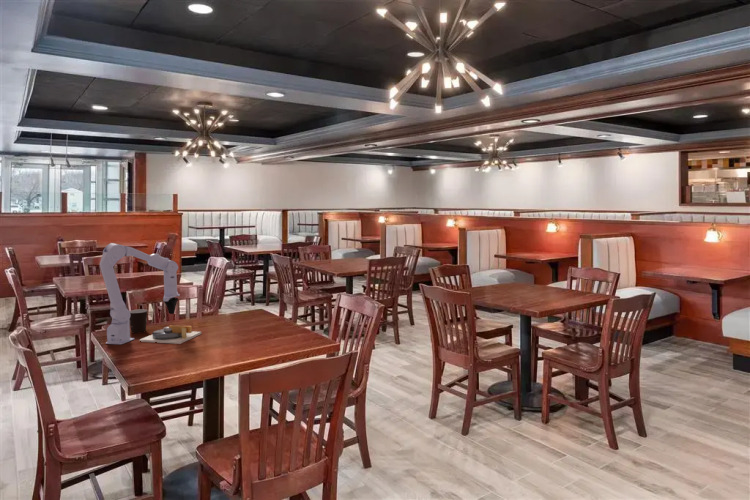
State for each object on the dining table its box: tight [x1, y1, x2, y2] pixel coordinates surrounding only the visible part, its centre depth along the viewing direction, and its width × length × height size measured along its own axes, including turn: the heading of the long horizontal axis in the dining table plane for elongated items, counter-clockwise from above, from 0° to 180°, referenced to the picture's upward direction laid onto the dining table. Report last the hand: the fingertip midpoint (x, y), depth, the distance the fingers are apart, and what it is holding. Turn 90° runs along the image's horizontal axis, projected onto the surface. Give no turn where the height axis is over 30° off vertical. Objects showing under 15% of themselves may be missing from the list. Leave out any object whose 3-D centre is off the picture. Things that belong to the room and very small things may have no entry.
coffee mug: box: [129, 308, 148, 334], centre depth 258 cm, size 12×9×10 cm
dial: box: [151, 324, 193, 339], centre depth 243 cm, size 18×14×4 cm
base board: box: [139, 328, 202, 345], centre depth 245 cm, size 18×20×6 cm
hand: (171, 313), depth 253 cm, fingers closed
